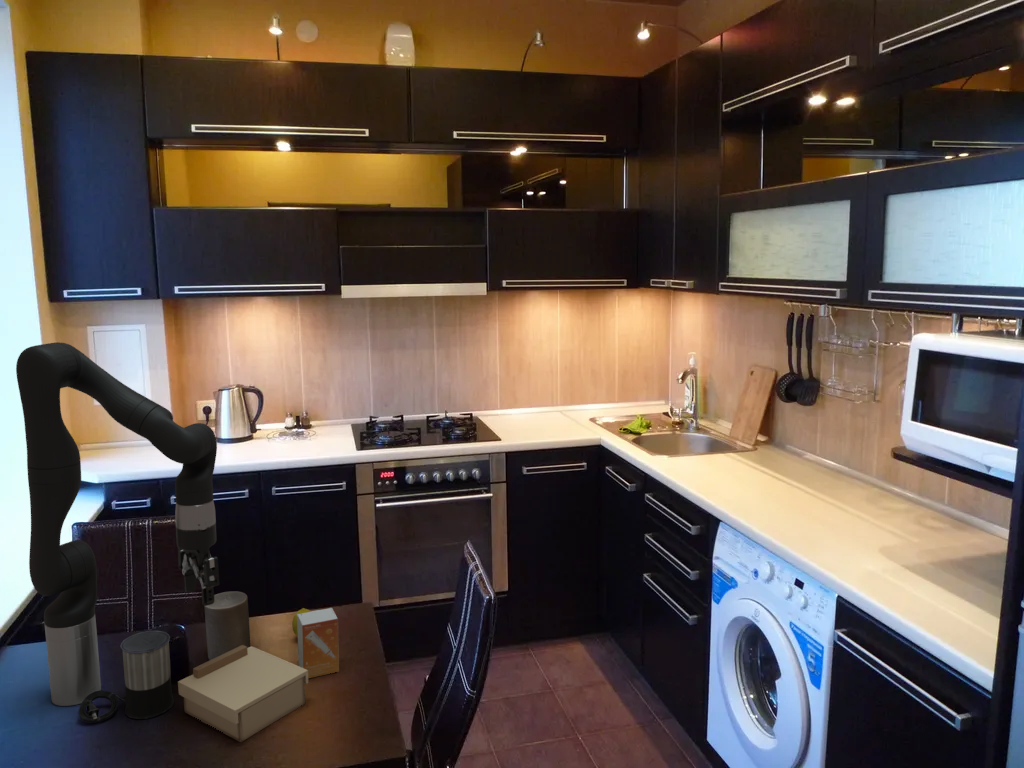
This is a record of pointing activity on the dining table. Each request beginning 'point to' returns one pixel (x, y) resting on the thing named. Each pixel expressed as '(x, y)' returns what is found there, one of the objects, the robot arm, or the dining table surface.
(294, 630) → the lemon
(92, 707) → the milk frother
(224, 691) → the lid
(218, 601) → the pillar candle
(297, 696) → the tray
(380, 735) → the dining table surface
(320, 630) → the small box
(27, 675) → the dining table surface
